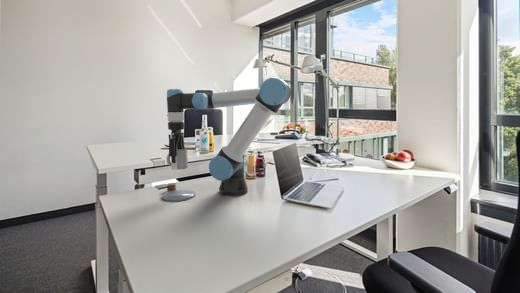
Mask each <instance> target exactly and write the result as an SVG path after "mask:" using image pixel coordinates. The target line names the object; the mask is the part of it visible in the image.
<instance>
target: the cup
mask: <svg viewBox="0 0 520 293" xmlns="http://www.w3.org/2000/svg"><path fill="white" fill-rule="evenodd" d="M166 155H167V156H166V164H167V165H168V166H170V167H172V164H171V156H169V153H168V154H166ZM176 156H177V164H178V169H177V170H185V169H188V167H189V166H188V165H189V163H188V161H189V160H188V149H177V153H176Z"/></svg>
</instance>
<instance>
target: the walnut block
mask: <svg viewBox="0 0 520 293" xmlns="http://www.w3.org/2000/svg"><path fill="white" fill-rule="evenodd" d="M173 190H177V183H173V182H172V183H167V186H166V192H168V191H173Z"/></svg>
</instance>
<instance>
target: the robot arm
mask: <svg viewBox="0 0 520 293" xmlns="http://www.w3.org/2000/svg"><path fill="white" fill-rule="evenodd" d="M291 93H292V90H291V86H290V85H289V84H288V82H286V81H284V79H281V78H280V77H276V76H275V77H269V78H267V79H265V80H264V81H263V82H262V83H261V84H260V86H259V87H255V88H248V89H247V88H246V89H241V90H239V89H238V90H232V91H223V92H213V93H204V92H203V93H202V92H192V93H191V92H190V93H187V92H186V93H184V91H183V89H180V88H169V89H167V90H166V108H167V114H166V116H167V121H168V122H167V128H168V130H170V132H171V133H170V134H168V154H169V156H171V157H170V162H171V164H172V166H171V170H172V171H173V170H175V171H176V170H177V171H178V170H179V169H178V164H177V156H176V153H177V149H185V138H184V136H185V133H184V132H182V130H184V129H185V122H184V120H185V114H184V110H211V109H217V108H228V107H238V106H248V105H253V107H252V109H251V110H250V111H249V113H248V114H247V116H246V117H245V119H244V120H243V121H242V123H241V125H240V126H239V127H238V129H237V130H236V132H235V134H234V135H233V137H232V138H231V139H230V141H229V142H228V144H227V145H225V146H222V147H221V148H220V150H219V151H218V153H217V154H216V156H214V157H213V158H211V160H210V161H209V163H208V171H209V173H210V175H211V177H212V178H214V179H215V180H217V181H219V182H220V184H219V187H218V193H219V194H220V195H222V196H226V197H227V196H228V197H230V196H231V197H236V196H241V195H242V196H243V195H246V194H247V193H248V192H249V187H248V184H247V182H246V179H245V153H246V152H247V150H248V148H250V146H251V144H252V143H253V142H254V140H255V139H256V137H257V136H258V134H259V133H260V132H261V130H262V129H263V127H264V126H265V124H266V123H267V121H268V120H269V119H270V117H271V115H274V114H275V115H276V114H277V113H278V112H279V110H280V108H281V107H282V106H283V105H284V104H286V103H288V101H289V100H290V98H291V95H292V94H291Z"/></svg>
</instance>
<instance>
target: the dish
mask: <svg viewBox="0 0 520 293" xmlns="http://www.w3.org/2000/svg"><path fill="white" fill-rule="evenodd" d="M195 197H196V192H195V191H194V190H191V189H176V190H173V191H168V192H167V191H166V192H164V193H162V194H161V198H162V200H163V201H166V202H184V201H187V200H192V199H193V198H195Z"/></svg>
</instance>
